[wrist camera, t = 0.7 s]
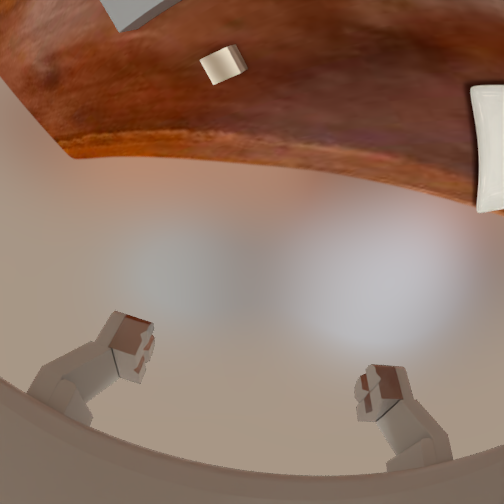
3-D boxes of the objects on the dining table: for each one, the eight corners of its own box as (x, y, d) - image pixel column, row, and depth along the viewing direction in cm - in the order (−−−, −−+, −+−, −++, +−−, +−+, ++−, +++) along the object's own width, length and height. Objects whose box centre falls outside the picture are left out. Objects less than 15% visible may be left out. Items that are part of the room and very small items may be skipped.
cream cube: (235, 44, 39) (226, 46, 36) (248, 68, 42) (240, 73, 39) (210, 56, 41) (199, 60, 38) (222, 79, 44) (213, 85, 41)
